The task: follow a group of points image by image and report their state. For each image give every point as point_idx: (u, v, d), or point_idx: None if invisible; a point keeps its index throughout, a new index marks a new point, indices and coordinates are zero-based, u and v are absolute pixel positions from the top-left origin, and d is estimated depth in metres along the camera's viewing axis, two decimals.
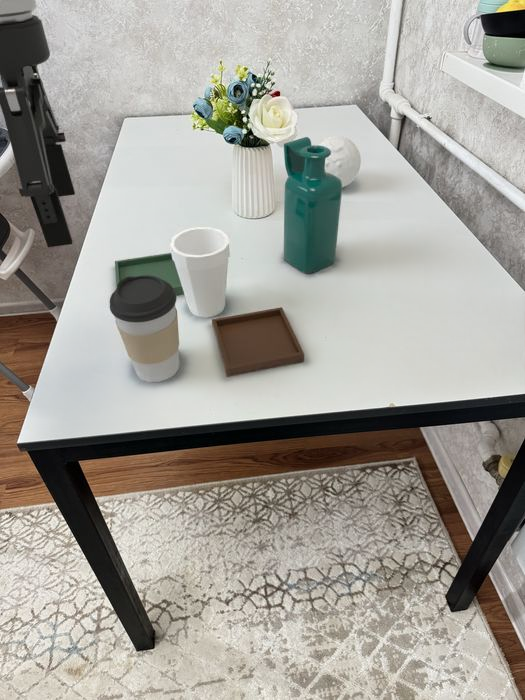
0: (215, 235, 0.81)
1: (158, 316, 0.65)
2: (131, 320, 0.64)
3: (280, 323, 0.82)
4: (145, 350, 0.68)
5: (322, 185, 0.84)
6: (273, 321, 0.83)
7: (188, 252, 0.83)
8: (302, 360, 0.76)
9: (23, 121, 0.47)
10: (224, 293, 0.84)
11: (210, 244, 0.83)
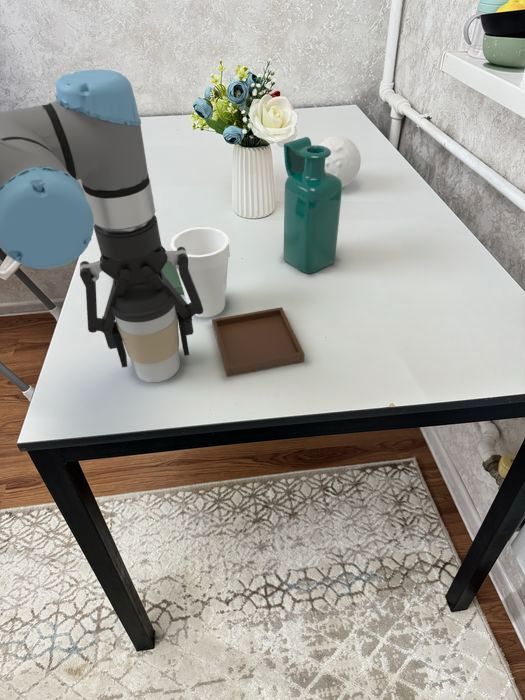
0: (215, 235, 0.81)
1: (158, 316, 0.65)
2: (131, 320, 0.64)
3: (280, 323, 0.82)
4: (145, 350, 0.68)
5: (322, 185, 0.84)
6: (273, 321, 0.83)
7: (188, 252, 0.83)
8: (302, 360, 0.76)
9: None
10: (224, 293, 0.84)
11: (210, 244, 0.83)
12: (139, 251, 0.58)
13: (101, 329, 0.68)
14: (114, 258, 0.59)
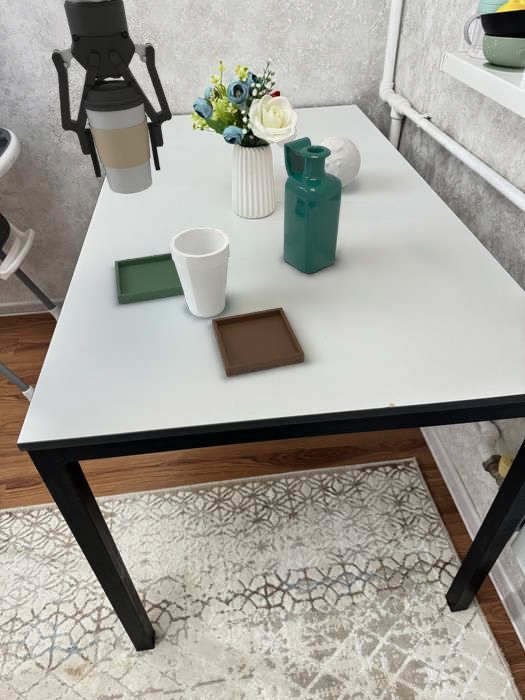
0: (215, 235, 0.81)
1: (127, 108, 0.68)
2: (101, 109, 0.68)
3: (280, 323, 0.82)
4: (116, 150, 0.72)
5: (322, 185, 0.84)
6: (273, 321, 0.83)
7: (188, 252, 0.83)
8: (302, 360, 0.76)
9: None
10: (224, 293, 0.84)
11: (210, 244, 0.83)
12: (106, 26, 0.62)
13: (74, 129, 0.72)
14: (82, 33, 0.62)
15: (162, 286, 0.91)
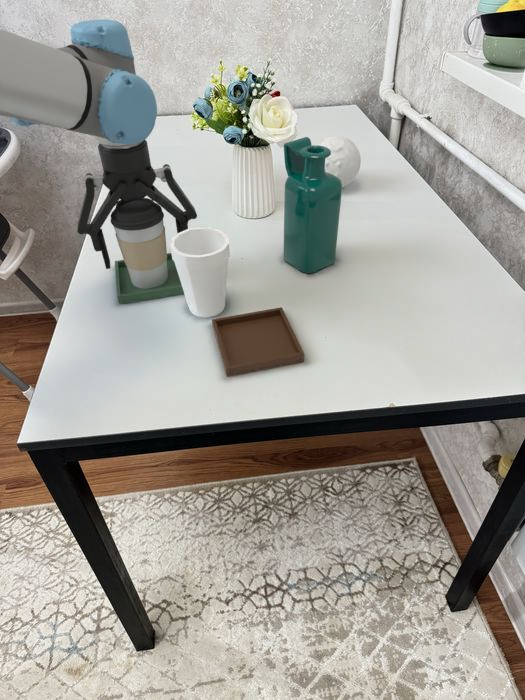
0: (215, 235, 0.81)
1: (149, 226, 0.82)
2: (127, 229, 0.81)
3: (280, 323, 0.82)
4: (139, 257, 0.85)
5: (322, 185, 0.84)
6: (273, 321, 0.83)
7: (188, 252, 0.83)
8: (302, 360, 0.76)
9: (175, 181, 0.82)
10: (224, 293, 0.84)
11: (210, 244, 0.83)
12: (133, 166, 0.75)
13: (88, 231, 0.83)
14: (114, 171, 0.75)
15: (162, 286, 0.91)
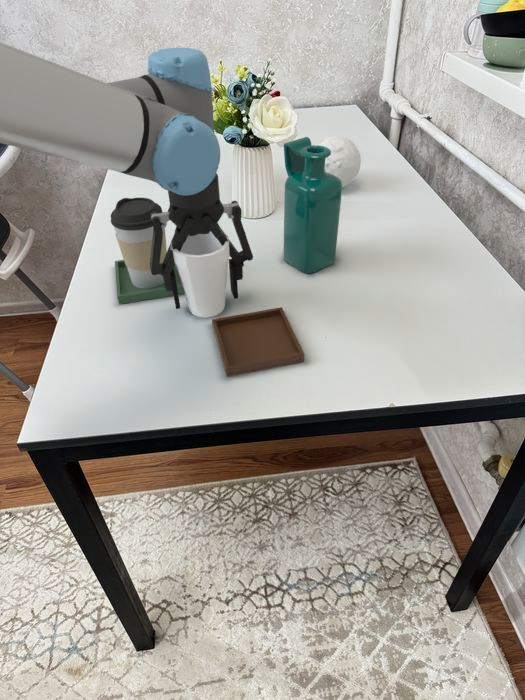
0: None
1: (149, 226, 0.82)
2: (127, 229, 0.81)
3: (280, 323, 0.82)
4: (139, 257, 0.85)
5: (322, 185, 0.84)
6: (273, 321, 0.83)
7: (188, 252, 0.83)
8: (302, 360, 0.76)
9: None
10: (224, 293, 0.84)
11: (210, 244, 0.83)
12: (204, 201, 0.70)
13: (161, 272, 0.79)
14: (183, 207, 0.70)
15: (162, 286, 0.91)
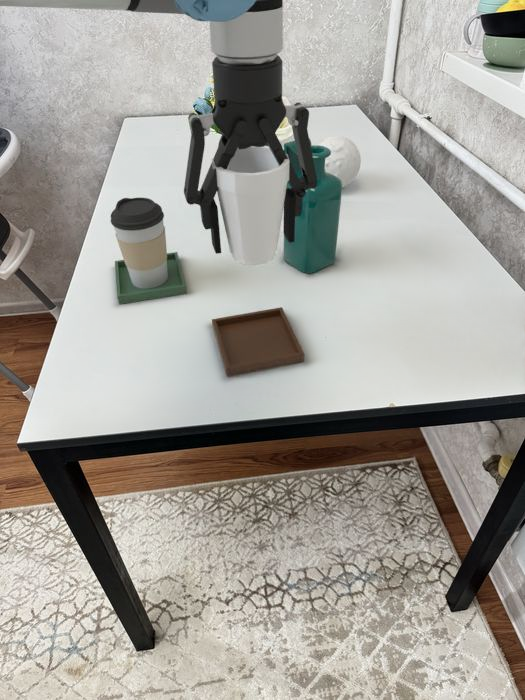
0: (268, 155, 0.62)
1: (149, 226, 0.82)
2: (127, 229, 0.81)
3: (280, 323, 0.82)
4: (139, 257, 0.85)
5: (322, 185, 0.84)
6: (273, 321, 0.83)
7: None
8: (302, 360, 0.76)
9: None
10: (278, 233, 0.65)
11: (260, 168, 0.64)
12: (265, 91, 0.51)
13: (199, 202, 0.60)
14: (236, 100, 0.51)
15: (162, 286, 0.91)
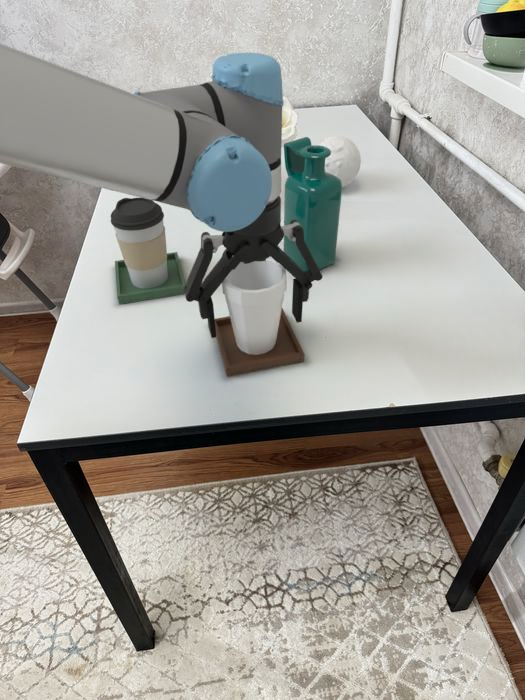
0: (269, 265, 0.73)
1: (149, 226, 0.82)
2: (127, 229, 0.81)
3: (280, 323, 0.82)
4: (139, 257, 0.85)
5: (322, 185, 0.84)
6: None
7: (238, 283, 0.75)
8: (302, 360, 0.76)
9: None
10: (277, 328, 0.76)
11: (262, 274, 0.75)
12: (266, 226, 0.62)
13: (197, 297, 0.70)
14: (242, 233, 0.62)
15: (162, 286, 0.91)
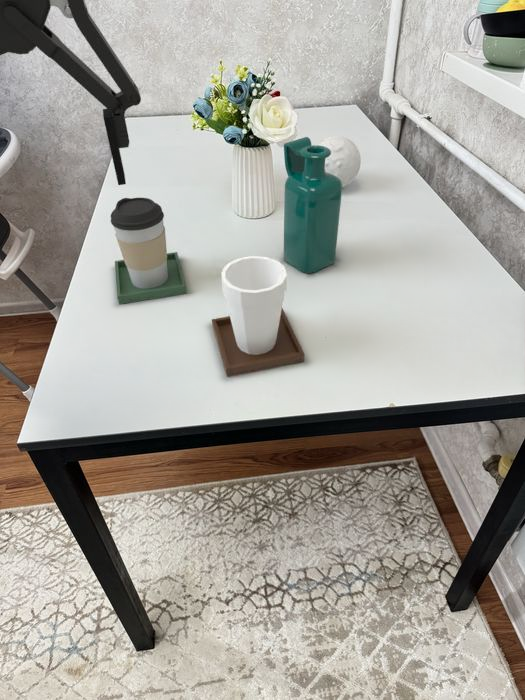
0: (269, 265, 0.73)
1: (149, 226, 0.82)
2: (127, 229, 0.81)
3: (280, 323, 0.82)
4: (139, 257, 0.85)
5: (322, 185, 0.84)
6: None
7: (238, 283, 0.75)
8: (302, 360, 0.76)
9: (93, 21, 0.42)
10: (277, 328, 0.76)
11: (262, 274, 0.75)
12: None
13: None
14: None
15: (162, 286, 0.91)
